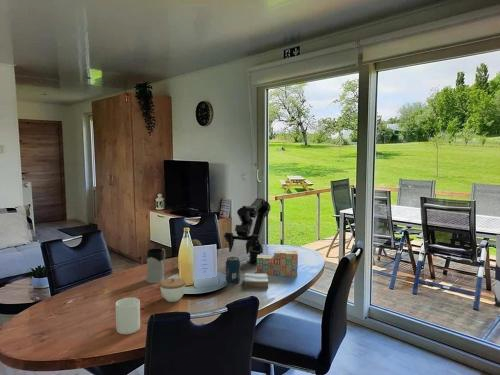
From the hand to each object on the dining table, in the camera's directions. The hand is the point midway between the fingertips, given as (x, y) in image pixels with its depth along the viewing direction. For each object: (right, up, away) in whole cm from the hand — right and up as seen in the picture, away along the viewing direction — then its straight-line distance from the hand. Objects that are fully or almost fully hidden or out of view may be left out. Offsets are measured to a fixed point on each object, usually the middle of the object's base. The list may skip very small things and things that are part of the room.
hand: (238, 252), depth 188 cm
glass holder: (-41, -13, 0) cm, 43 cm away
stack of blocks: (+20, -13, +8) cm, 25 cm away
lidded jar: (-28, -16, -26) cm, 41 cm away
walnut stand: (+9, -14, -8) cm, 18 cm away
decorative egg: (-25, -11, +20) cm, 34 cm away
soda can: (-3, -14, -5) cm, 15 cm away
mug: (-40, -18, -53) cm, 68 cm away
